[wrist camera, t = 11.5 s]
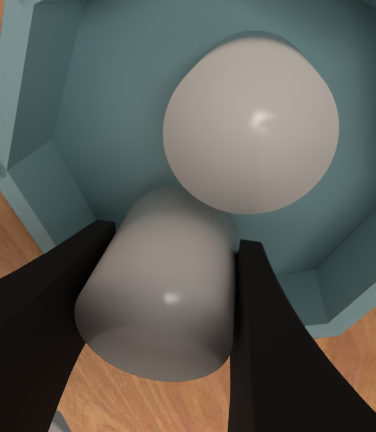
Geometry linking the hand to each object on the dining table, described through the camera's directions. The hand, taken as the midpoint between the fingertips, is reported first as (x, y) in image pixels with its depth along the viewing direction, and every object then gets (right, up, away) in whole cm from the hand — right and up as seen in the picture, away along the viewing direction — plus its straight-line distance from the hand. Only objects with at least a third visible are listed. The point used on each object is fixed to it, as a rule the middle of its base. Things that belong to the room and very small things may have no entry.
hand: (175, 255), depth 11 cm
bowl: (+2, +4, +2) cm, 5 cm away
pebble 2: (+2, +5, 0) cm, 6 cm away
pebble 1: (0, 0, +1) cm, 1 cm away
